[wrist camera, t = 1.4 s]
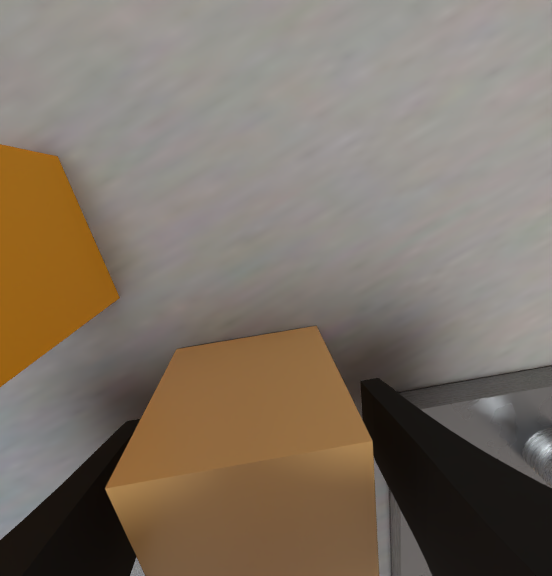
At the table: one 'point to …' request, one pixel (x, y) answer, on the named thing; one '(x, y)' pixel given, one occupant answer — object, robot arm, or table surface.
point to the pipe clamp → (43, 260)
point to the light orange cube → (250, 465)
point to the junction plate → (484, 437)
